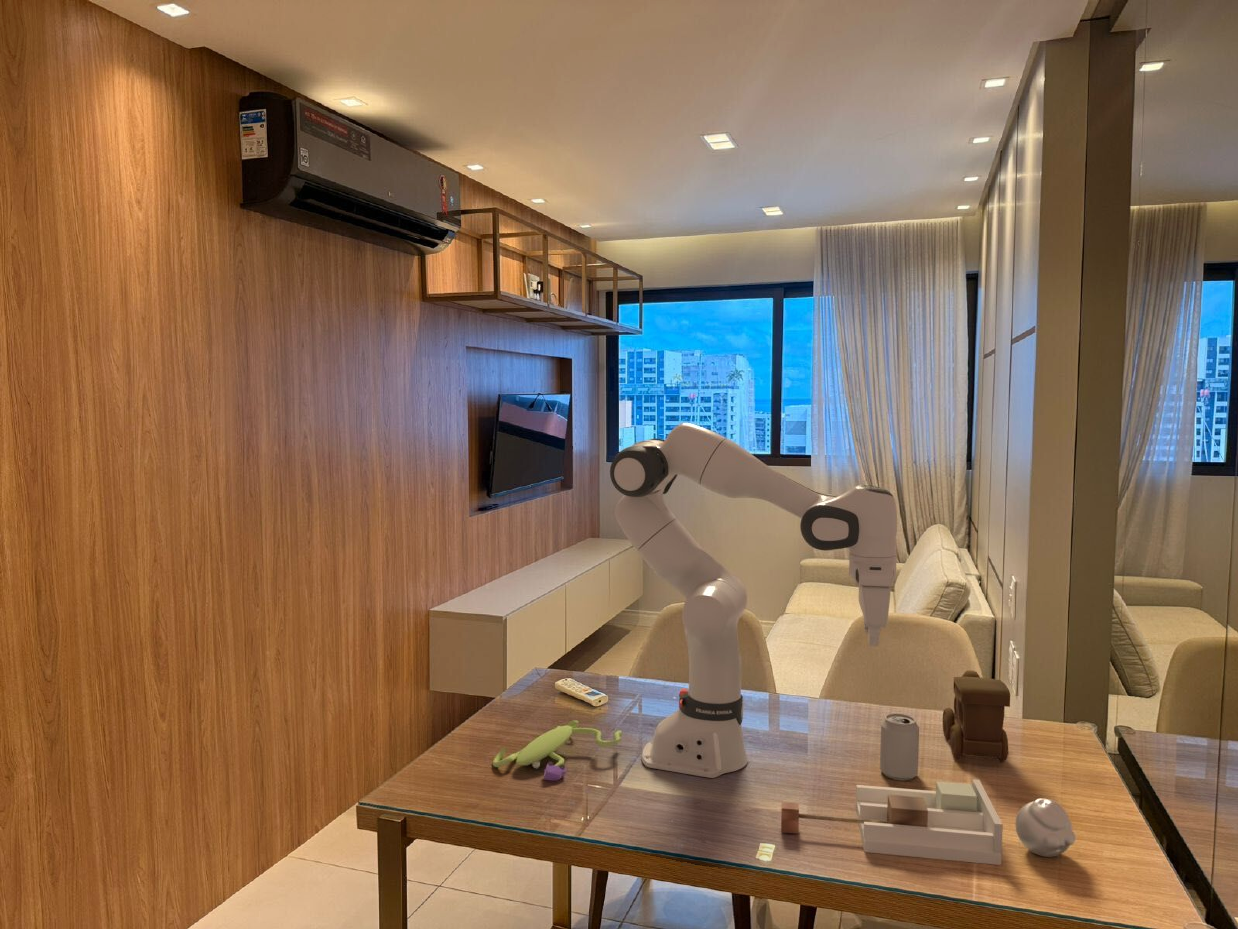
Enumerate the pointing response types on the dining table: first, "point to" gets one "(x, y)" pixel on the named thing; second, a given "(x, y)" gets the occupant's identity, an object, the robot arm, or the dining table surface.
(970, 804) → the sage block
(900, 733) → the can
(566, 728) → the figurine
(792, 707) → the dining table surface
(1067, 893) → the dining table surface
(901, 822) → the brown block pusher rod
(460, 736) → the dining table surface
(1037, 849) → the grey round lump
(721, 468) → the robot arm
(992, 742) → the wooden toy train
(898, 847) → the lane shelf
